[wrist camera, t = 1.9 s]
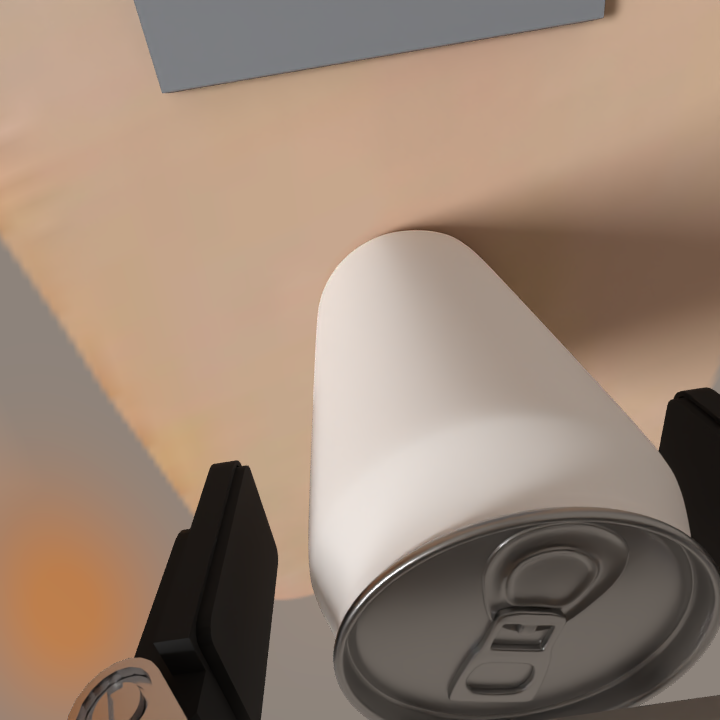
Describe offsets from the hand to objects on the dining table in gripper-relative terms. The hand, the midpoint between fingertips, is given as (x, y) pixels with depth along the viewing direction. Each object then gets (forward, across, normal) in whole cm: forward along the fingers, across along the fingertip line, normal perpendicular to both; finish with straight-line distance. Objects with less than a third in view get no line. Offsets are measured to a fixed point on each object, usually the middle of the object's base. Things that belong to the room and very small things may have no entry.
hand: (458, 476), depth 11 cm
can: (+8, 0, -1) cm, 8 cm away
